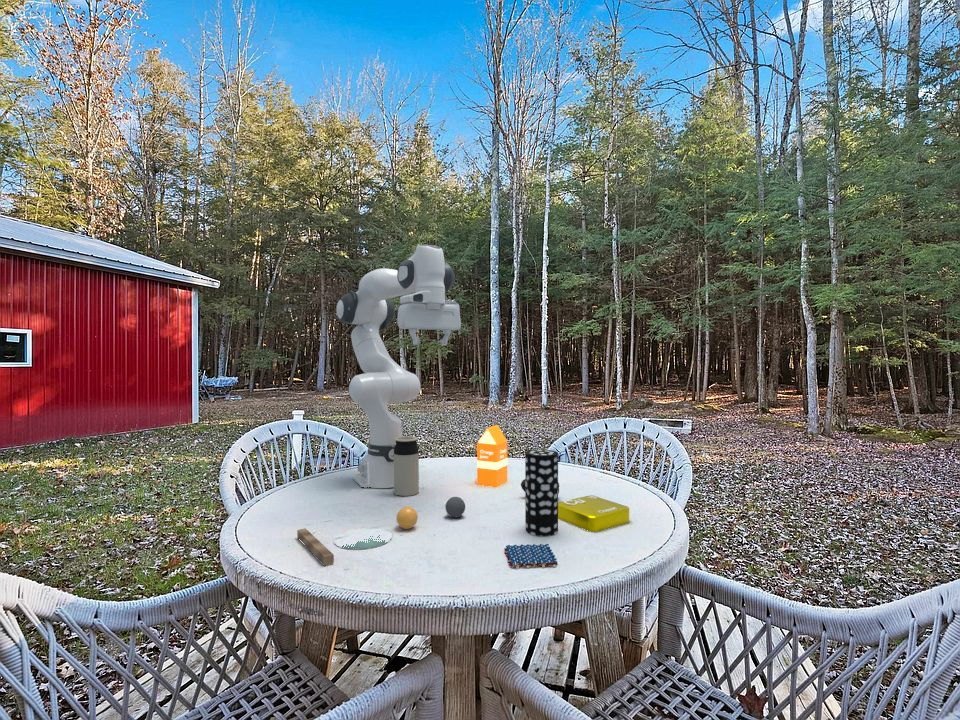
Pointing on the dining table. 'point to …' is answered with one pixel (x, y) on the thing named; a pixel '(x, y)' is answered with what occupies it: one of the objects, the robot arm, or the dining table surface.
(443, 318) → the robot arm
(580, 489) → the dining table surface
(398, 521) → the orange ball
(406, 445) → the travel mug
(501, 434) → the orange juice
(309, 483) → the dining table surface
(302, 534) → the brown wooden bar
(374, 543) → the teal flat disc
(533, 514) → the spotted tube
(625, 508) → the element tile
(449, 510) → the dark grey round ball
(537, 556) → the woven mat
